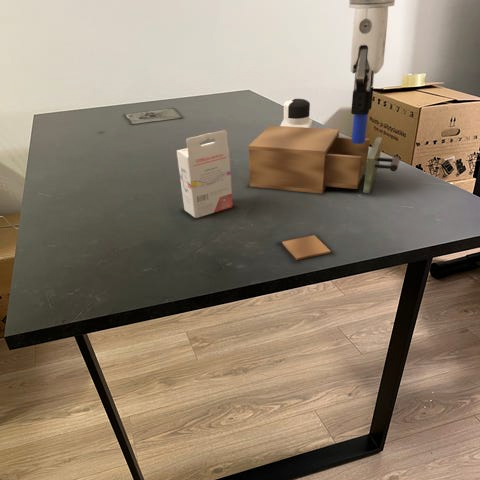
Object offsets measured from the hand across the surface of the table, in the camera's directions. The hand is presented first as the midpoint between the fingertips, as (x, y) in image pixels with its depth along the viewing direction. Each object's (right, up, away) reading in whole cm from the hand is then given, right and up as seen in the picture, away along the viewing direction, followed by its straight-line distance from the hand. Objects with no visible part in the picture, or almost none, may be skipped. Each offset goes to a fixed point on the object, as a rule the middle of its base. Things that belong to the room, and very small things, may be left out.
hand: (361, 110), depth 90 cm
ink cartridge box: (-30, -19, +2) cm, 35 cm away
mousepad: (-55, +22, +56) cm, 81 cm away
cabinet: (-11, -9, +13) cm, 19 cm away
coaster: (-12, -28, -12) cm, 33 cm away
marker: (0, -5, +4) cm, 6 cm away
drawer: (0, -10, +9) cm, 13 cm away
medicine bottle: (-10, +1, +26) cm, 28 cm away
